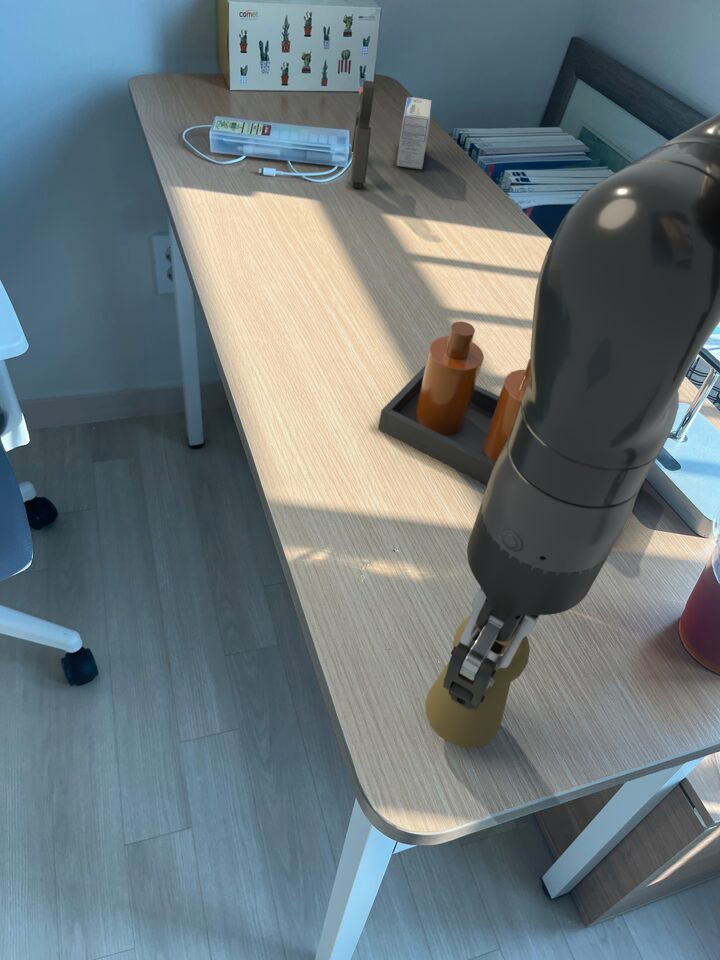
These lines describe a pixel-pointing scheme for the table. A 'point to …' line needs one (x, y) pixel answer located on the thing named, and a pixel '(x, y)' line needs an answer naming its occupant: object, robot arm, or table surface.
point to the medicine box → (414, 133)
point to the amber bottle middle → (506, 411)
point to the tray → (450, 449)
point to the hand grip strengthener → (362, 135)
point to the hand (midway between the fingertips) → (481, 668)
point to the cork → (486, 719)
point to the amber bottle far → (449, 380)
